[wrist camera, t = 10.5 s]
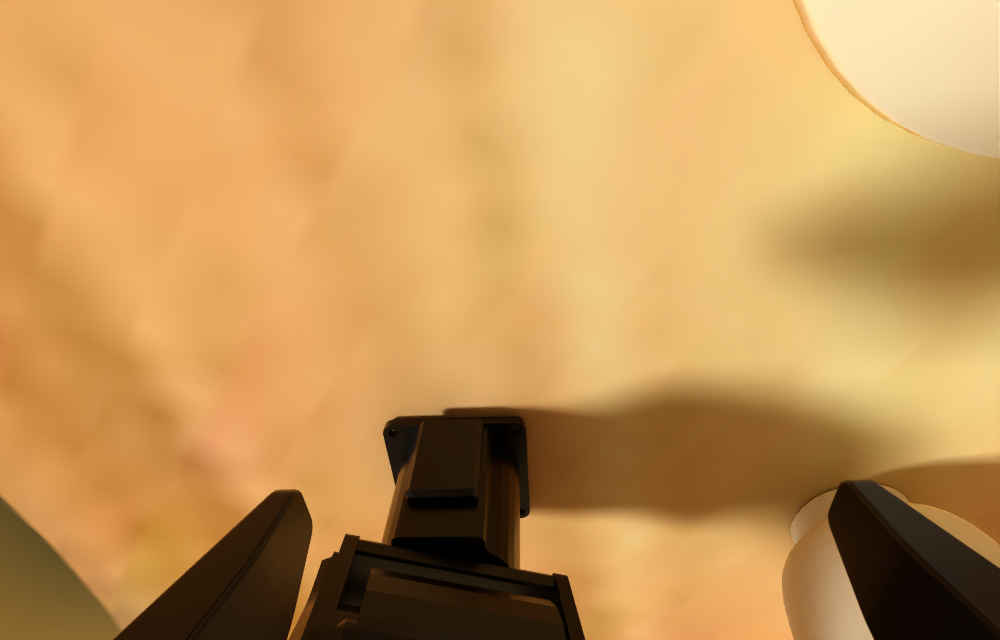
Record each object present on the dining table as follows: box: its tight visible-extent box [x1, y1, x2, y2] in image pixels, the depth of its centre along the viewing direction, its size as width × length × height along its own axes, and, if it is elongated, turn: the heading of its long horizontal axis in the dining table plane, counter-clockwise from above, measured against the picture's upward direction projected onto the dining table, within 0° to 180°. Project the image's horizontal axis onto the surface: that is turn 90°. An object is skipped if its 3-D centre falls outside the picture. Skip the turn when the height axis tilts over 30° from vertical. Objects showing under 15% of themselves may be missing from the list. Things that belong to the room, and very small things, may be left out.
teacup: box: [782, 485, 1000, 640], centre depth 23 cm, size 12×15×10 cm
